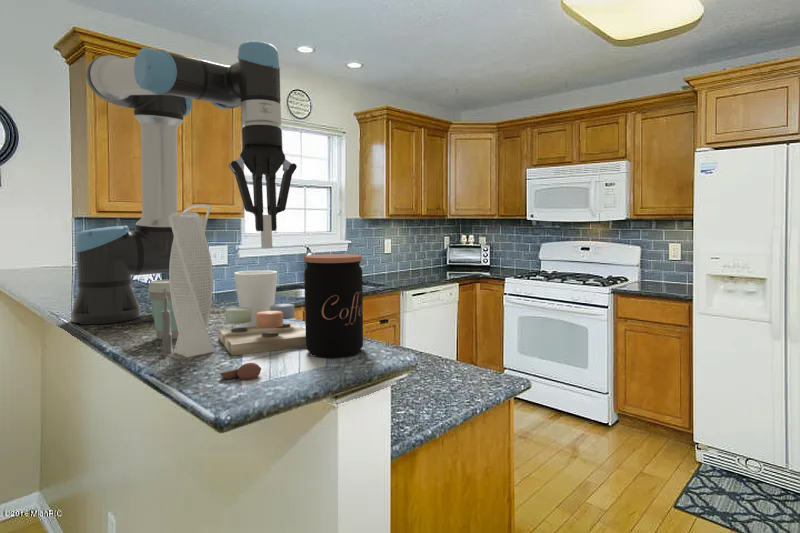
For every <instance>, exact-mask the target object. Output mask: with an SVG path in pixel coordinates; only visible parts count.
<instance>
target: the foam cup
mask: <svg viewBox="0 0 800 533" xmlns="http://www.w3.org/2000/svg"><path fill="white" fill-rule="evenodd" d="M233 274H234V285H235V287H236V294H237V299H238V307H247V308H251V313H252V321H251V322H248V323H242V327H251V326H257V318H256V313H258V312H263V311H270V306H271V305H275V303H276V302H275V301H276V293H277V283H278V271H277V270H276V271H275V270H267V269H266V270H265V269H264V270H263V269H260V270H259V269H258V270H241V271H236V272H234V273H233Z"/></svg>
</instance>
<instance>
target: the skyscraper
mask: <svg viewBox="0 0 800 533" xmlns="http://www.w3.org/2000/svg"><path fill="white" fill-rule="evenodd" d="M195 208H207V211H206V214H205V217H202V216H200V214H199V213H198V212H188V211H190V210H191V209H195ZM211 209H212V206H211V205H209V204H206V203H205V204H204V203H201V204H199V203H198V204H193V205H190V206H188V207H186V208H185V209H184V210H183V211H182V212H181V211H180V212H177V213H173V214H171V215H170V216H169V220H170V224H171V227H172V231H173V235H174V239H173V243H172V249H171V255H170V264H169V274H168V275H169V276H168V278H169V283H170V294H171V301H172V306H173V311H174V316H175V320H176V324H177V328H178V332H179V334H178V338H177V339H176V343H175V347H174V348H173V339H172V333H171V323H170V310H168V300H167V297H166V288H164V297H163V305H164V311H162V326H163V334H162V337H163V339H162V352H160V354H161V355H163V356H166V357H169V358H171V359H175V360H177V361H180V360H181V361H182V360H185V359H190V358H195V357H200V356H204V355H210V354H215V353H216V351H215V348H214V346H213V343H212V340H211V337H210V334H209V332H208V329H207V328H208V325H209V318H210V314H211V308H212V303H213V302H212V301H213V300H212V299H213V292H214V291H213V290H214V288H213V287H214V273H213V263H212V256H211V252H210V248H209V244H208V240H207V237H206V231H207V230H206V229H207V225H208V218H209V215H210V212H211ZM173 216H177V217H173ZM173 349H174V350H173Z"/></svg>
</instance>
